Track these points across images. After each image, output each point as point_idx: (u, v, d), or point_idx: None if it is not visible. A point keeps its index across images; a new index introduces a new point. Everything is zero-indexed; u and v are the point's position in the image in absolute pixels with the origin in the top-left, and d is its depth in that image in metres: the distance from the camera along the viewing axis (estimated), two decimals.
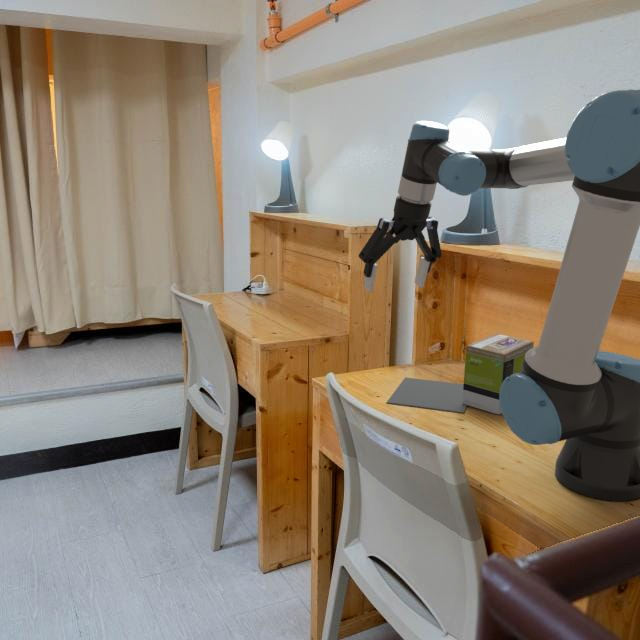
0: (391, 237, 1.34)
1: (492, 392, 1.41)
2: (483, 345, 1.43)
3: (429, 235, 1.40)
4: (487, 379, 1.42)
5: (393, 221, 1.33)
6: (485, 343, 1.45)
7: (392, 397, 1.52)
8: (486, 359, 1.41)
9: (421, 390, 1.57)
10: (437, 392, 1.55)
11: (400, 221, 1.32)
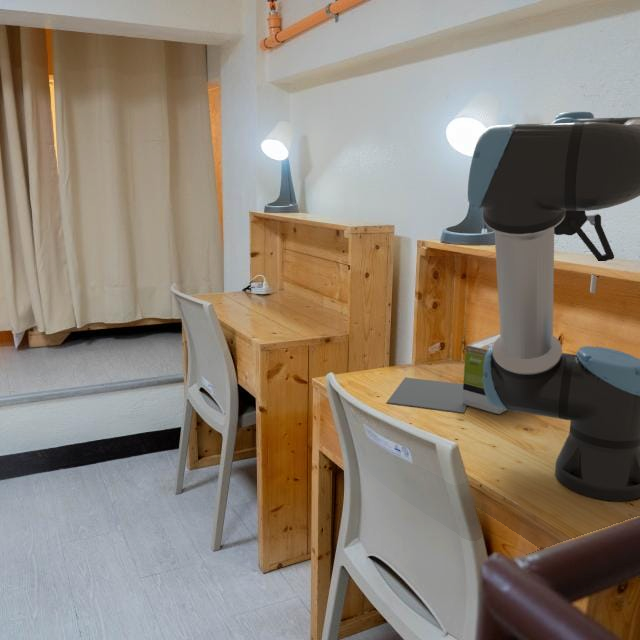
0: None
1: None
2: (482, 345, 1.44)
3: (597, 234, 1.32)
4: None
5: None
6: (484, 343, 1.45)
7: (392, 397, 1.52)
8: None
9: (421, 390, 1.57)
10: (437, 392, 1.55)
11: None
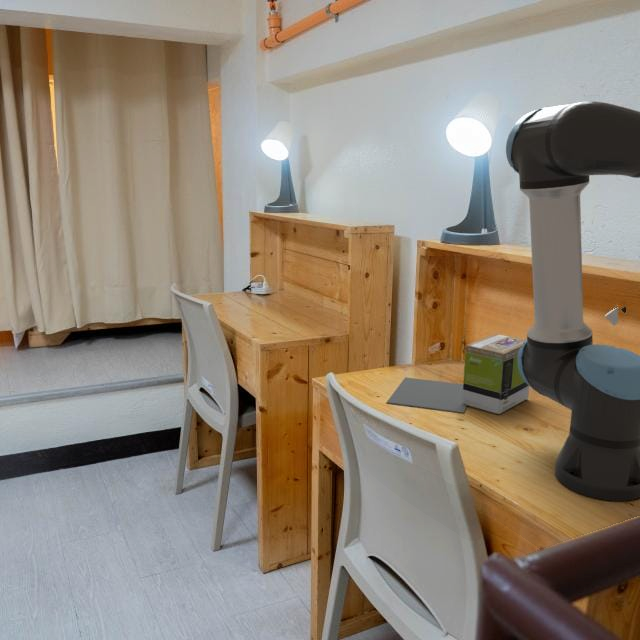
0: None
1: (492, 391, 1.41)
2: (482, 345, 1.44)
3: None
4: (487, 379, 1.42)
5: None
6: (484, 343, 1.45)
7: (392, 397, 1.52)
8: (486, 359, 1.41)
9: (421, 390, 1.57)
10: (437, 392, 1.55)
11: None
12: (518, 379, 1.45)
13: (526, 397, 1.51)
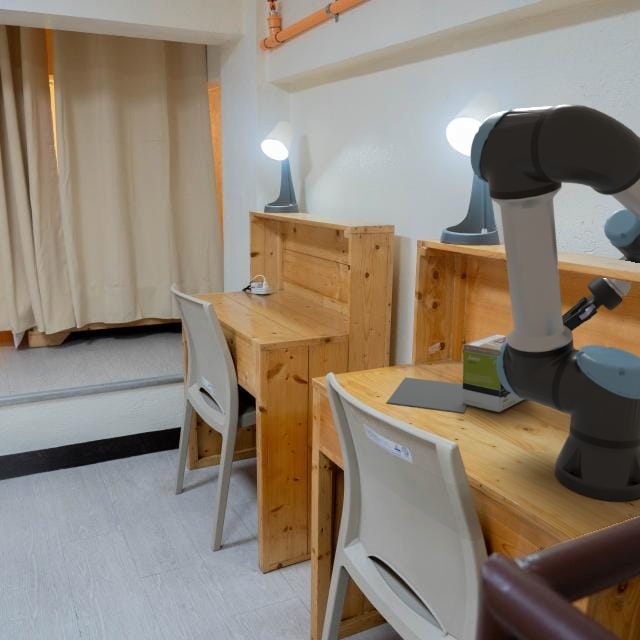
0: None
1: (491, 389, 1.42)
2: (480, 344, 1.44)
3: None
4: (485, 377, 1.42)
5: None
6: (482, 342, 1.46)
7: (392, 397, 1.52)
8: (484, 357, 1.42)
9: (421, 390, 1.57)
10: (437, 392, 1.55)
11: (590, 295, 1.42)
12: None
13: None
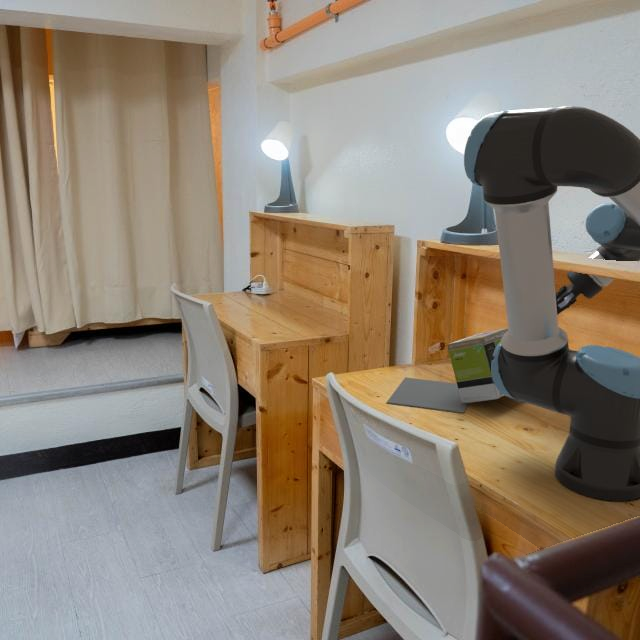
0: None
1: (483, 378, 1.43)
2: (462, 339, 1.47)
3: None
4: (475, 368, 1.44)
5: None
6: (464, 338, 1.49)
7: (392, 397, 1.52)
8: (468, 349, 1.44)
9: (421, 390, 1.57)
10: (437, 392, 1.55)
11: None
12: None
13: None
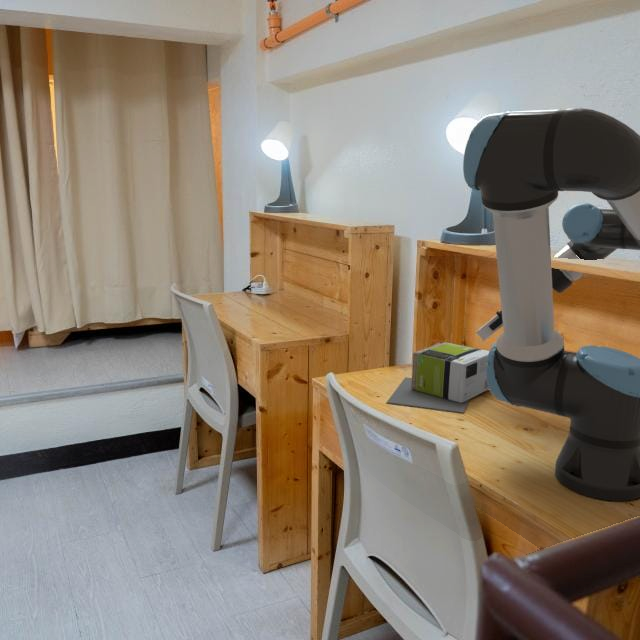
0: None
1: (445, 368, 1.49)
2: None
3: None
4: (435, 372, 1.51)
5: None
6: None
7: (392, 397, 1.52)
8: (419, 370, 1.54)
9: None
10: None
11: None
12: (456, 351, 1.55)
13: None
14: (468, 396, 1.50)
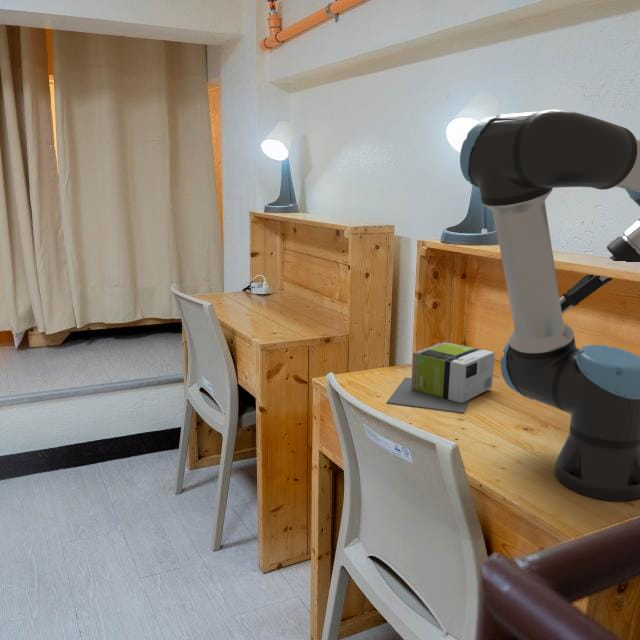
0: None
1: (444, 368, 1.49)
2: None
3: None
4: (435, 372, 1.51)
5: None
6: None
7: (392, 397, 1.52)
8: (419, 370, 1.54)
9: None
10: None
11: None
12: (456, 351, 1.55)
13: (490, 352, 1.55)
14: (468, 396, 1.50)
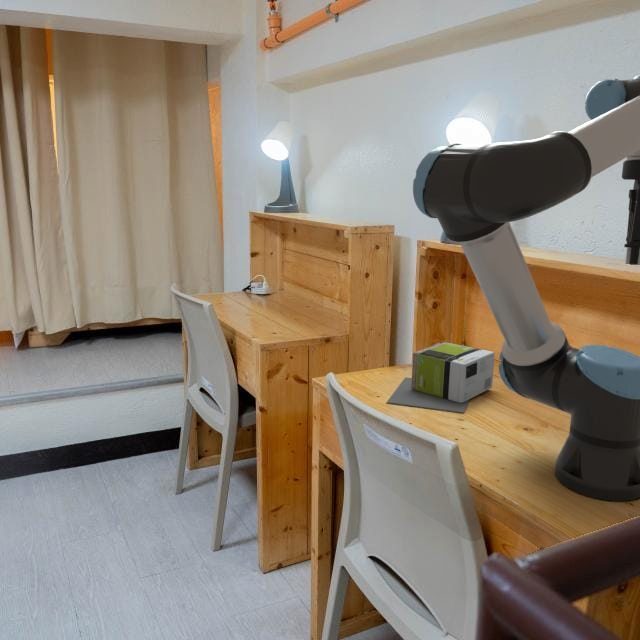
0: None
1: (444, 368, 1.49)
2: None
3: None
4: (435, 372, 1.51)
5: None
6: None
7: (392, 397, 1.52)
8: (419, 370, 1.54)
9: None
10: None
11: None
12: (456, 351, 1.55)
13: (490, 352, 1.55)
14: (468, 396, 1.50)
